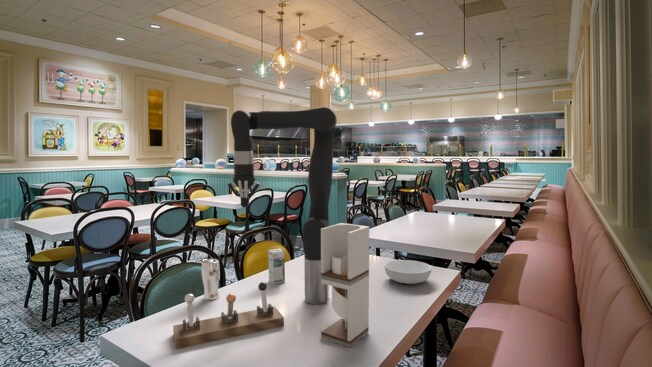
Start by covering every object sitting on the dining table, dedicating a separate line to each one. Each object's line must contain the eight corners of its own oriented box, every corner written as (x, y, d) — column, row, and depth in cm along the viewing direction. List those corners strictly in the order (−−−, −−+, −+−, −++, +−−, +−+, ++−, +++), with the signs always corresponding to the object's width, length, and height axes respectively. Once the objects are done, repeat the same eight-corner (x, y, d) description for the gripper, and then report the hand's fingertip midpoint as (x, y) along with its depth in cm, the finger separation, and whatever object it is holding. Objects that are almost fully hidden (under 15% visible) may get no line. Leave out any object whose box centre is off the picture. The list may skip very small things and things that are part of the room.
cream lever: (196, 326, 122) (193, 292, 124) (197, 327, 119) (194, 292, 121) (186, 328, 120) (183, 294, 122) (186, 329, 118) (184, 294, 120)
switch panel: (274, 314, 137) (274, 298, 137) (284, 325, 128) (283, 309, 128) (173, 334, 123) (172, 317, 122) (176, 349, 114) (175, 330, 113)
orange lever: (233, 315, 127) (235, 290, 123) (235, 322, 125) (237, 297, 121) (224, 317, 126) (225, 292, 122) (225, 324, 124) (227, 298, 119)
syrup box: (272, 284, 168) (272, 252, 167) (268, 280, 173) (268, 249, 172) (285, 282, 170) (284, 250, 169) (280, 278, 176) (279, 247, 174)
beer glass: (215, 301, 149) (214, 264, 148) (199, 300, 151) (197, 263, 149) (223, 294, 156) (222, 259, 155) (207, 293, 158) (206, 258, 156)
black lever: (268, 312, 132) (265, 281, 134) (270, 313, 129) (267, 281, 131) (260, 314, 131) (256, 282, 133) (262, 314, 128) (259, 282, 130)
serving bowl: (437, 278, 176) (437, 263, 175) (422, 292, 158) (422, 276, 158) (394, 270, 187) (395, 257, 186) (376, 283, 169) (376, 268, 169)
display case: (341, 324, 129) (341, 222, 126) (368, 332, 123) (369, 226, 120) (321, 337, 120) (320, 228, 117) (350, 347, 114) (350, 233, 111)
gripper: (223, 163, 145) (225, 208, 146) (258, 163, 144) (259, 208, 145) (230, 162, 152) (231, 205, 153) (262, 162, 151) (263, 205, 152)
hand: (244, 207), depth 149 cm, fingers closed
